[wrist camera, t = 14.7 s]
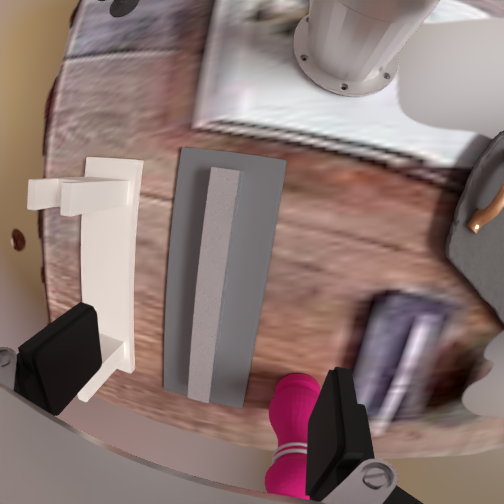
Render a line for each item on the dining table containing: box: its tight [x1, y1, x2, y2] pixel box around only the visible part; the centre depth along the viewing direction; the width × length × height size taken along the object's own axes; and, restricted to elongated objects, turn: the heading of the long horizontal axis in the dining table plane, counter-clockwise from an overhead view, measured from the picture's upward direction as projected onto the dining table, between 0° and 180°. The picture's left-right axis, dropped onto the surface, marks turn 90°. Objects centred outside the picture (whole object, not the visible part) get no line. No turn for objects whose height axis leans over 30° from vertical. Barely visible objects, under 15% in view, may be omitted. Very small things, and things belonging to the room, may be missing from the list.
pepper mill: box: [265, 373, 320, 500], centre depth 29 cm, size 7×7×20 cm
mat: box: [164, 147, 287, 409], centre depth 37 cm, size 34×12×1 cm, turn 171°
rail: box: [188, 167, 243, 403], centre depth 35 cm, size 30×3×2 cm, turn 171°
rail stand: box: [27, 157, 143, 402], centre depth 32 cm, size 30×8×12 cm, turn 171°
